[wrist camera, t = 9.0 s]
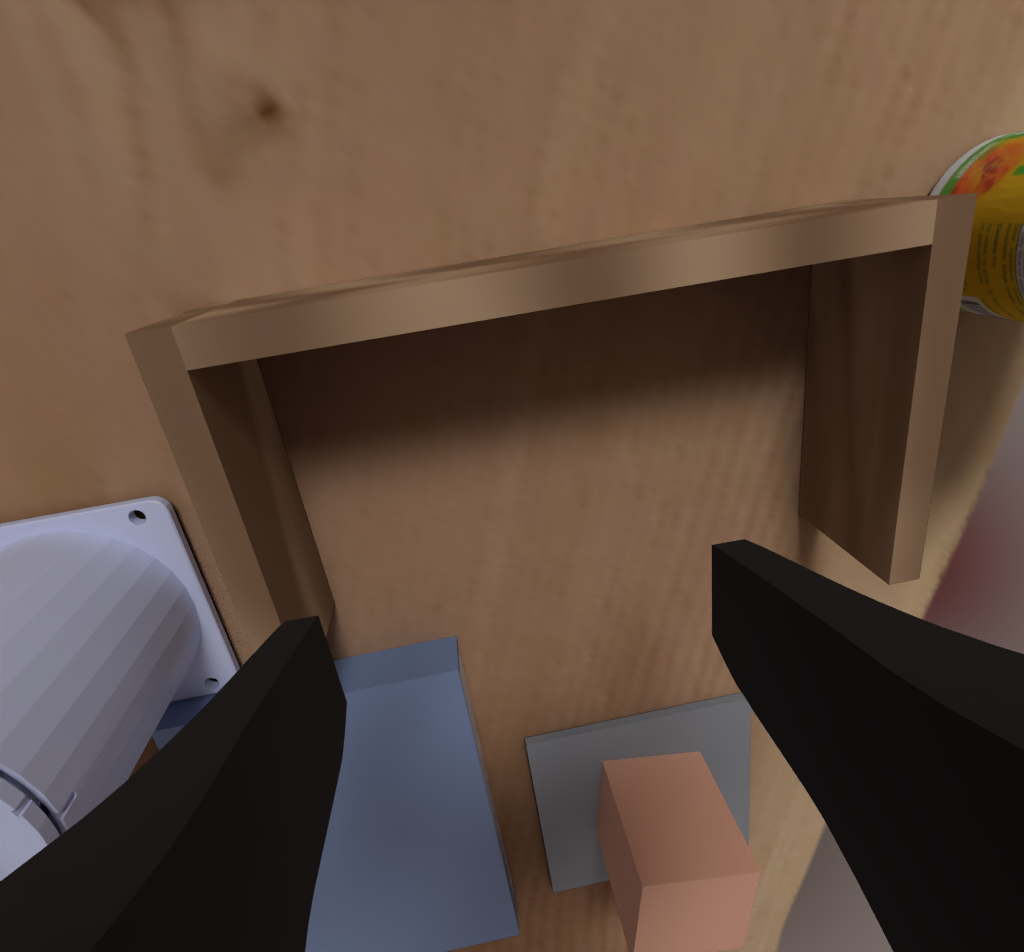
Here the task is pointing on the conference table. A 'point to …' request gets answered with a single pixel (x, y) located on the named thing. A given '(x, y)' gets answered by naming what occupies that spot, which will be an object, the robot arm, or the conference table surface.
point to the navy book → (404, 812)
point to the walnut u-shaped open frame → (575, 280)
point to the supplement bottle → (993, 225)
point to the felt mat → (580, 752)
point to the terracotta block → (674, 855)
